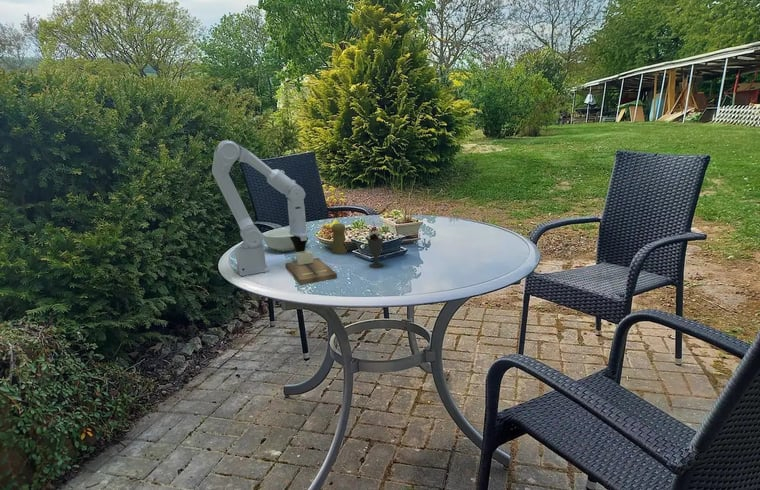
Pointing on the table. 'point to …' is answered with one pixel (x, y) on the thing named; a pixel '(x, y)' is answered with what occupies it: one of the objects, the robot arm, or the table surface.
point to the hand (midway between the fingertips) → (300, 256)
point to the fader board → (311, 271)
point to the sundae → (375, 246)
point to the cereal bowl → (279, 239)
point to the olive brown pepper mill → (338, 239)
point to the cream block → (304, 257)
